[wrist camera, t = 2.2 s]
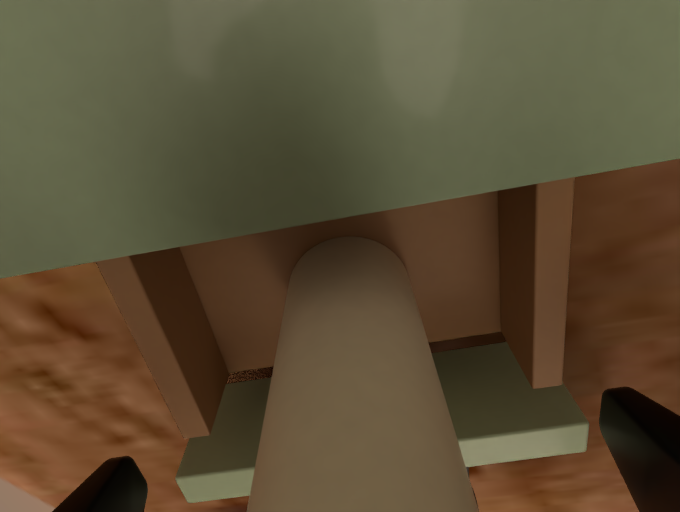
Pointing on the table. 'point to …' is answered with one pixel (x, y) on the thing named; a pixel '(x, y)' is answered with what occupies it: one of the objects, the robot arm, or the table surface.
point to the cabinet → (308, 112)
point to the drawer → (434, 308)
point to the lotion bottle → (356, 395)
